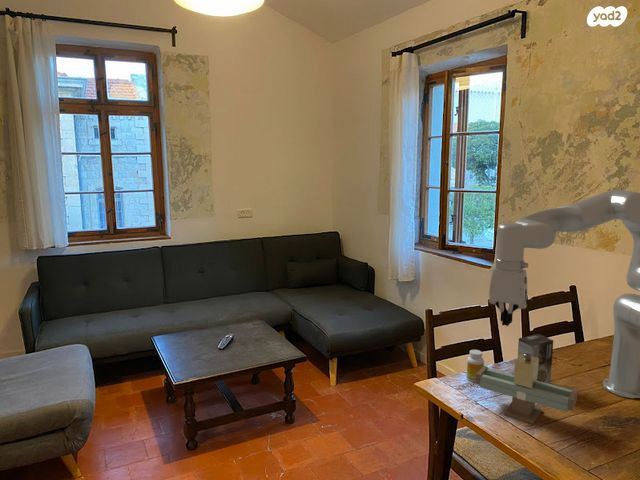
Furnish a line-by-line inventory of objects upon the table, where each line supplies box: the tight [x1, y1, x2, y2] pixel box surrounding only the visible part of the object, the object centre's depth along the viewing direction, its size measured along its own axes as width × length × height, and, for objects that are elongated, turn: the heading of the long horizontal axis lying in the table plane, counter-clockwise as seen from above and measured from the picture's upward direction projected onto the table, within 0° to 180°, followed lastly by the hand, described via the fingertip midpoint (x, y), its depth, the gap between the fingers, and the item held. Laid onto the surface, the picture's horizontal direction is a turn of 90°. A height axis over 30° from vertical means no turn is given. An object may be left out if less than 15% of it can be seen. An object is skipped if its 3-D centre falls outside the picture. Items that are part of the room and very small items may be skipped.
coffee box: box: [517, 333, 554, 384], centre depth 158 cm, size 9×6×16 cm
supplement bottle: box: [466, 349, 485, 383], centre depth 163 cm, size 5×5×10 cm
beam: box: [475, 365, 579, 425], centre depth 142 cm, size 26×9×10 cm, turn 53°
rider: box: [513, 353, 539, 388], centre depth 140 cm, size 5×6×10 cm
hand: (506, 324), depth 145 cm, fingers closed
